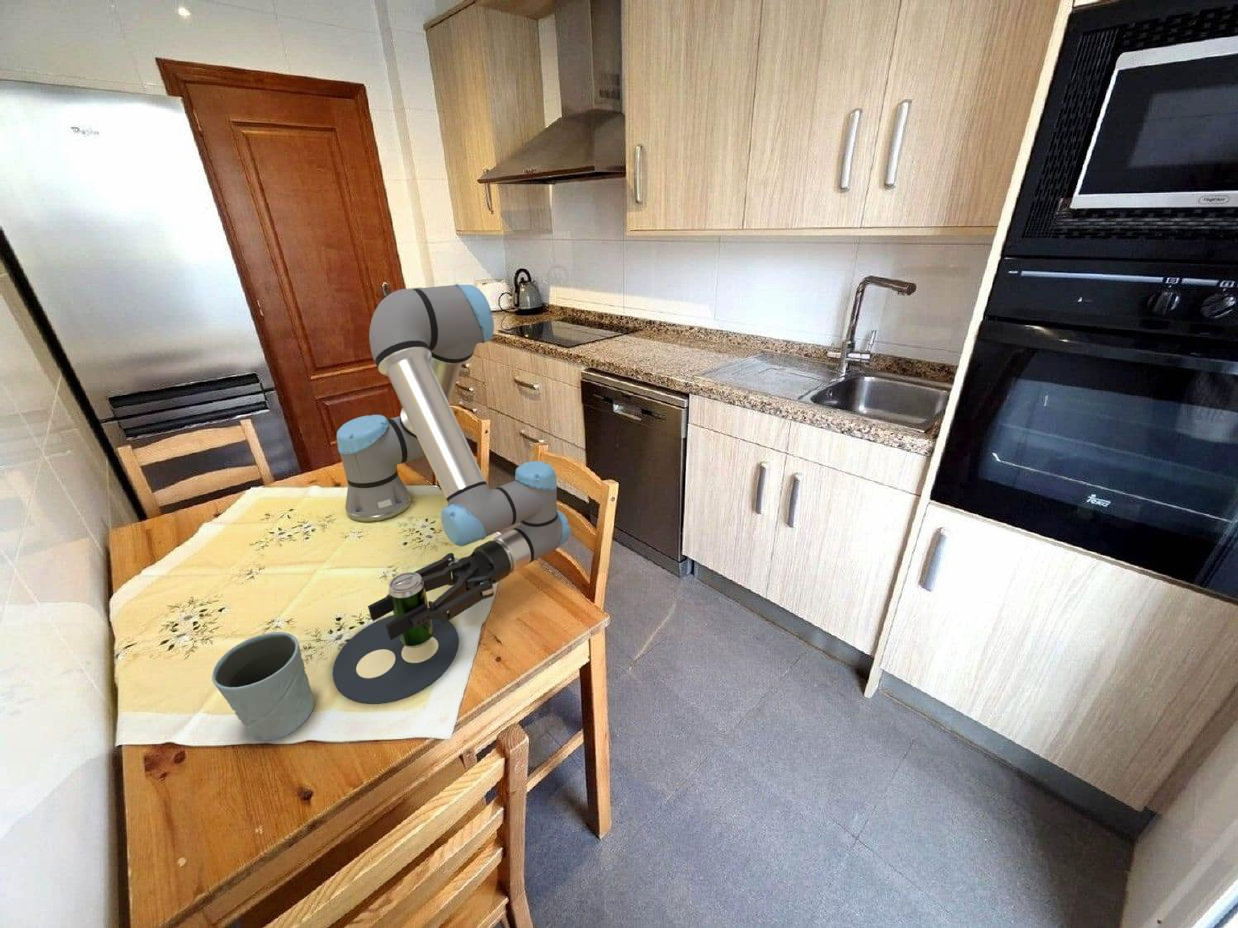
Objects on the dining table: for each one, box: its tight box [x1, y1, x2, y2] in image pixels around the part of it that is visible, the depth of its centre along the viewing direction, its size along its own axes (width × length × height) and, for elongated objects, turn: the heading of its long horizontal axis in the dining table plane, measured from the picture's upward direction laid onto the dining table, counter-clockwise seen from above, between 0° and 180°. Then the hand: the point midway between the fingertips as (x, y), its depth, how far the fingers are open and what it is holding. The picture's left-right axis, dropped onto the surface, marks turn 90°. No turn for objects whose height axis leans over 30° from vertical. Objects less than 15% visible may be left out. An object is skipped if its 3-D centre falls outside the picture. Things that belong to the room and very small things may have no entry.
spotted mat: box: [332, 614, 459, 705], centre depth 86 cm, size 20×20×1 cm
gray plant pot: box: [211, 631, 315, 742], centre depth 73 cm, size 10×10×12 cm
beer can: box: [388, 571, 434, 648], centre depth 83 cm, size 5×5×12 cm
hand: (379, 622), depth 79 cm, fingers closed on beer can, 5 cm apart
